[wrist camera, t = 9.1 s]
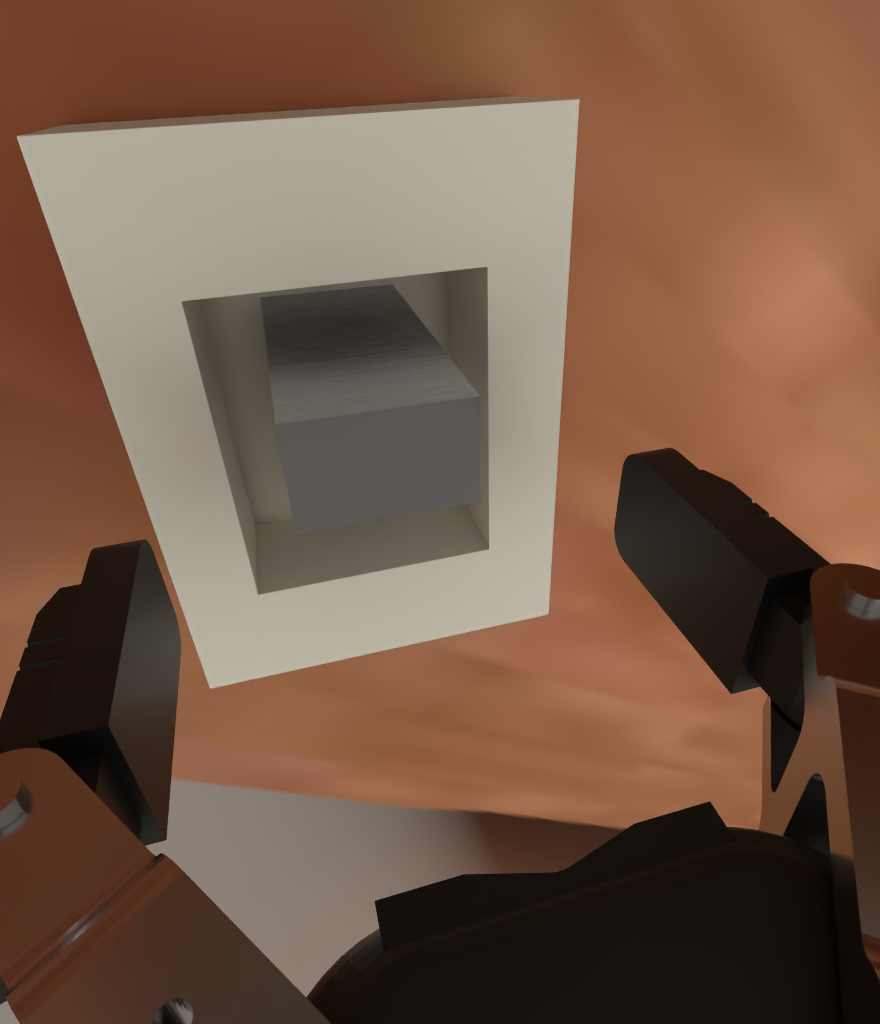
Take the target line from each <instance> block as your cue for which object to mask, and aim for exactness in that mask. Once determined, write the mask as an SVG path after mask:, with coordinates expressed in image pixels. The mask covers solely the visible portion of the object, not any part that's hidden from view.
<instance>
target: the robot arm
mask: <svg viewBox="0 0 880 1024" xmlns="http://www.w3.org/2000/svg"><path fill="white" fill-rule="evenodd" d="M614 533H615V540H616V545H617V548H618V551H619V553H620V555H621V557H622V559H623V560H624V562H625V563H626V564H627V565H628V567H629V568H630V569H631V570H632V572H633V573H634V574H635V575H636V577H637V578H638V579H639V580H640V582H641V583H642V584H643V585H644V586H645V588H646V589H647V590H648V591H649V593H650V594H651V595H652V596H653V598H654V599H655V600H656V601H657V603H658V604H659V605H660V606H661V608H662V609H663V610H664V611H665V613H666V614H667V615H668V616H669V617H670V619H671V620H672V621H673V622H674V624H675V625H676V626H677V627H678V629H679V630H680V631H681V632H682V634H683V635H684V636H685V637H686V639H687V640H688V641H689V642H690V643H691V645H692V646H693V647H694V648H695V650H696V651H697V652H698V653H699V655H700V656H701V657H702V658H703V660H704V661H705V662H706V663H707V665H708V666H709V667H710V668H711V670H712V671H713V672H714V673H715V674H716V676H717V677H718V678H719V679H720V681H721V682H722V683H723V684H724V686H725V687H726V688H727V689H728V691H729V692H730V693H731V694H733V693H737V692H741V691H745V690H749V689H752V688H756V687H760V686H761V688H762V689H763V690H764V691H765V692H766V693H767V695H768V696H767V699H766V701H765V704H764V707H763V754H762V811H761V820H760V825H759V830H755V829H746V828H737V827H726V825H725V824H724V822H723V820H722V819H721V817H720V816H719V814H718V813H717V811H716V810H715V808H714V807H713V805H712V804H711V802H706V803H703V804H700V805H696V806H693V807H689V808H686V809H683V810H679V811H676V812H673V813H669V814H666V815H663V816H659V817H656V818H652V819H649V820H646V821H642V822H639V823H636V824H633V825H632V826H630V827H629V828H627V829H626V830H624V831H623V832H621V833H620V834H618V835H617V836H615V837H614V838H612V839H611V840H609V841H608V842H606V843H605V844H603V845H602V846H600V847H599V848H597V849H596V850H594V851H593V852H591V853H590V854H588V855H587V856H585V857H584V858H582V859H581V860H579V861H578V862H576V863H575V864H573V865H572V866H570V867H568V868H567V869H565V870H562V871H559V872H553V873H513V874H466V875H465V874H464V875H460V876H457V877H454V878H450V879H447V880H444V881H440V882H437V883H433V884H430V885H427V886H424V887H420V888H417V889H413V890H410V891H407V892H403V893H400V894H396V895H393V896H390V897H386V898H383V899H380V900H377V901H375V905H376V911H377V917H378V922H379V929H378V930H376V931H375V932H373V933H372V934H370V935H368V936H367V937H365V938H364V939H362V940H361V941H360V942H358V943H357V944H356V945H355V946H353V947H352V948H351V949H350V950H349V951H347V952H346V953H345V954H344V955H343V956H341V957H340V959H339V960H338V961H337V962H336V963H335V964H334V965H333V966H332V967H331V968H330V969H329V970H328V971H327V972H326V973H325V974H324V975H323V976H322V978H321V979H320V980H319V982H318V983H317V984H316V985H315V987H314V988H313V989H312V991H311V992H310V993H309V995H308V996H307V997H305V996H304V995H303V994H302V993H301V992H300V991H299V990H298V989H297V988H296V987H295V986H294V985H293V984H292V983H291V982H290V981H289V980H288V979H287V978H286V977H285V975H284V974H283V973H282V972H281V971H280V970H279V969H278V968H277V967H276V966H275V965H274V964H273V963H272V962H271V961H270V960H269V959H268V958H267V957H266V956H265V955H264V954H263V953H262V952H261V951H260V950H259V949H258V948H257V947H256V946H255V945H254V944H253V942H251V941H250V940H249V939H248V937H247V936H246V935H245V934H244V933H243V932H242V931H241V930H240V929H239V928H238V927H237V926H236V925H235V924H234V923H233V922H232V921H231V920H230V919H229V918H228V917H227V916H226V915H225V914H224V913H223V912H222V911H221V909H220V908H218V906H217V905H216V904H215V903H214V902H213V901H212V900H211V899H210V898H209V897H208V896H207V895H206V894H205V893H204V892H203V891H202V890H201V889H200V888H199V887H198V886H197V885H196V884H195V883H194V882H193V881H192V880H191V879H190V878H189V877H188V876H187V875H186V873H185V872H184V871H183V870H182V869H181V868H179V866H178V865H177V864H175V863H174V862H173V861H172V860H171V859H170V858H168V857H167V856H166V855H164V854H162V853H161V854H159V855H158V856H157V857H156V856H155V855H154V854H152V853H151V852H150V851H149V850H148V849H147V848H146V847H145V845H149V844H153V843H157V842H161V841H164V840H166V838H167V825H168V811H169V799H170V785H171V773H172V760H173V747H174V734H175V721H176V708H177V696H178V683H179V670H180V657H181V640H180V632H179V626H178V622H177V618H176V614H175V611H174V608H173V605H172V603H171V600H170V597H169V594H168V592H167V589H166V586H165V583H164V581H163V578H162V575H161V572H160V569H159V567H158V564H157V561H156V558H155V556H154V553H153V550H152V548H151V546H150V544H149V543H148V541H147V540H145V539H144V540H138V541H132V542H127V543H121V544H115V545H110V546H104V547H99V548H94V549H92V550H91V552H90V555H89V558H88V562H87V565H86V569H85V573H84V576H83V580H82V583H81V584H80V585H74V586H69V587H63V588H60V589H59V590H58V591H57V592H56V593H55V594H54V596H53V597H52V598H51V599H50V600H49V601H48V602H47V603H46V605H45V606H44V607H43V608H42V609H41V610H40V611H39V612H38V614H37V615H36V618H35V621H34V624H33V626H32V629H31V632H30V635H29V638H28V641H27V643H28V647H26V648H25V650H24V652H23V655H22V658H21V661H20V664H19V666H20V671H17V673H16V676H15V678H14V681H13V684H12V687H11V690H10V693H9V696H8V699H7V701H6V704H5V707H4V710H3V713H2V716H1V719H0V1004H2V1003H3V1002H5V1001H8V1003H9V1005H10V1007H11V1009H12V1011H13V1013H14V1014H15V1016H16V1018H17V1019H18V1021H19V1023H20V1024H880V570H878V569H875V568H871V567H867V566H863V565H858V564H849V563H838V564H830V563H829V562H828V561H826V560H825V559H824V558H823V557H821V556H820V555H819V554H818V553H817V552H815V551H814V550H813V549H812V548H810V547H809V546H808V545H807V544H806V543H804V542H803V541H802V540H801V539H799V538H798V537H797V536H796V535H795V534H793V533H792V532H791V531H790V530H789V529H787V528H786V527H785V526H784V525H782V524H781V523H780V522H779V521H778V520H776V519H775V518H774V517H769V513H768V512H767V511H765V510H764V509H763V508H762V507H761V506H759V505H758V504H757V503H752V499H751V498H750V497H748V496H747V495H746V494H745V493H743V492H742V491H741V490H740V489H739V488H737V487H736V486H735V485H734V484H732V483H731V482H729V481H727V480H725V479H722V478H720V477H718V476H716V475H714V474H711V473H709V472H707V471H705V470H699V469H698V468H697V467H696V466H694V465H693V464H692V463H691V462H690V461H688V460H687V459H686V458H685V457H684V456H683V455H681V454H680V453H679V452H678V451H676V450H675V449H673V448H665V449H659V450H654V451H648V452H642V453H637V454H632V455H629V456H628V457H627V458H626V459H625V461H624V464H623V469H622V476H621V483H620V490H619V498H618V505H617V512H616V519H615V528H614Z"/></svg>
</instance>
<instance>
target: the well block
mask: <svg viewBox="0 0 880 1024" xmlns="http://www.w3.org/2000/svg"><path fill="white" fill-rule="evenodd" d="M578 114H579V99H563V98H540V97H517V96H510V97H494V98H479V99H463V100H447V101H432V102H416V103H400V104H385V105H369V106H353V107H337V108H322V109H306V110H290V111H275V112H259V113H243V114H228V115H212V116H196V117H181V118H165V119H149V120H134V121H118V122H102V123H87V124H71V125H62V126H58V127H54V128H49V129H45V130H41V131H37V132H33V133H28V134H24V135H20V136H17V139H18V142H19V145H20V148H21V151H22V153H23V156H24V159H25V162H26V165H27V168H28V171H29V173H30V176H31V179H32V182H33V185H34V188H35V191H36V193H37V196H38V199H39V202H40V205H41V208H42V210H43V213H44V216H45V219H46V222H47V225H48V228H49V230H50V233H51V236H52V239H53V242H54V245H55V248H56V250H57V253H58V256H59V259H60V262H61V265H62V268H63V270H64V273H65V276H66V279H67V282H68V285H69V287H70V290H71V293H72V296H73V299H74V302H75V305H76V307H77V310H78V313H79V316H80V319H81V322H82V325H83V327H84V330H85V333H86V336H87V339H88V342H89V344H90V347H91V350H92V353H93V356H94V359H95V362H96V364H97V367H98V370H99V373H100V376H101V379H102V382H103V384H104V387H105V390H106V393H107V396H108V399H109V401H110V404H111V407H112V410H113V413H114V416H115V419H116V421H117V424H118V427H119V430H120V433H121V436H122V439H123V441H124V444H125V447H126V450H127V453H128V456H129V459H130V461H131V464H132V467H133V470H134V473H135V476H136V478H137V481H138V484H139V487H140V490H141V493H142V496H143V498H144V501H145V504H146V507H147V510H148V513H149V516H150V518H151V521H152V524H153V527H154V530H155V533H156V535H157V538H158V541H159V544H160V547H161V550H162V553H163V555H164V558H165V561H166V564H167V567H168V570H169V573H170V575H171V578H172V581H173V584H174V587H175V590H176V593H177V595H178V598H179V601H180V604H181V607H182V610H183V612H184V615H185V618H186V621H187V624H188V627H189V630H190V632H191V635H192V638H193V641H194V644H195V647H196V650H197V652H198V655H199V658H200V661H201V664H202V667H203V669H204V672H205V675H206V678H207V681H208V684H209V687H210V689H211V688H216V687H220V686H225V685H229V684H234V683H238V682H243V681H247V680H252V679H257V678H261V677H266V676H270V675H275V674H279V673H284V672H288V671H293V670H297V669H302V668H307V667H311V666H316V665H320V664H325V663H329V662H334V661H338V660H343V659H347V658H352V657H357V656H361V655H366V654H370V653H375V652H379V651H384V650H388V649H393V648H398V647H402V646H407V645H411V644H416V643H420V642H425V641H429V640H434V639H438V638H443V637H448V636H452V635H457V634H461V633H466V632H470V631H475V630H479V629H484V628H488V627H493V626H498V625H502V624H507V623H511V622H516V621H520V620H525V619H529V618H534V617H538V616H543V615H548V611H549V595H550V578H551V562H552V545H553V529H554V512H555V495H556V479H557V462H558V446H559V429H560V412H561V396H562V379H563V363H564V346H565V330H566V313H567V296H568V280H569V263H570V247H571V230H572V213H573V197H574V180H575V164H576V147H577V131H578ZM389 284H393V285H394V287H395V288H396V289H397V291H398V292H399V293H400V294H401V296H402V297H403V298H404V300H405V301H406V302H407V303H408V305H409V306H410V307H411V308H412V310H413V311H414V312H415V314H416V315H417V316H418V317H419V319H420V320H421V321H422V322H423V324H424V325H425V326H426V328H427V329H428V330H429V331H430V333H431V334H432V335H433V336H434V338H435V339H436V340H437V342H438V343H439V344H440V345H441V347H442V348H443V349H444V350H445V352H446V353H447V354H448V356H449V357H450V358H451V359H452V361H453V362H454V363H455V364H456V366H457V367H458V368H459V370H460V371H461V372H462V373H463V375H464V376H465V377H466V379H467V380H468V381H469V382H470V384H471V385H472V386H473V387H474V389H475V390H476V391H477V393H478V394H479V395H480V503H474V504H468V505H462V506H456V507H450V508H444V509H439V510H433V511H427V512H421V513H415V514H409V515H403V516H397V517H392V518H386V519H380V520H374V521H368V522H362V523H356V524H350V525H345V526H339V527H333V528H327V529H321V530H315V531H309V532H303V533H298V534H296V532H295V527H294V521H293V516H292V511H291V505H290V500H289V495H288V489H287V484H286V479H285V473H284V468H283V463H282V457H281V452H280V447H279V441H278V436H277V431H276V425H275V418H274V409H273V400H272V392H271V383H270V375H269V366H268V358H267V349H266V341H265V332H264V324H263V315H262V307H261V298H260V297H270V296H280V295H290V294H300V293H310V292H320V291H330V290H340V289H350V288H360V287H369V286H379V285H389Z"/></svg>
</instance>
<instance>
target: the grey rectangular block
mask: <svg viewBox="0 0 880 1024" xmlns="http://www.w3.org/2000/svg"><path fill="white" fill-rule="evenodd" d="M260 298H261V307H262V315H263V324H264V332H265V341H266V349H267V358H268V366H269V375H270V383H271V392H272V400H273V409H274V418H275V425H276V431H277V436H278V441H279V447H280V452H281V457H282V463H283V468H284V473H285V479H286V484H287V489H288V495H289V500H290V505H291V511H292V516H293V521H294V527H295V532H296V534H298V533H303V532H309V531H315V530H321V529H327V528H333V527H339V526H345V525H350V524H356V523H362V522H368V521H374V520H380V519H386V518H392V517H397V516H403V515H409V514H415V513H421V512H427V511H433V510H439V509H444V508H450V507H456V506H462V505H468V504H474V503H480V395H479V394H478V393H477V391H476V390H475V389H474V387H473V386H472V385H471V384H470V382H469V381H468V380H467V379H466V377H465V376H464V375H463V373H462V372H461V371H460V370H459V368H458V367H457V366H456V364H455V363H454V362H453V361H452V359H451V358H450V357H449V356H448V354H447V353H446V352H445V350H444V349H443V348H442V347H441V345H440V344H439V343H438V342H437V340H436V339H435V338H434V336H433V335H432V334H431V333H430V331H429V330H428V329H427V328H426V326H425V325H424V324H423V322H422V321H421V320H420V319H419V317H418V316H417V315H416V314H415V312H414V311H413V310H412V308H411V307H410V306H409V305H408V303H407V302H406V301H405V300H404V298H403V297H402V296H401V294H400V293H399V292H398V291H397V289H396V288H395V287H394V285H393V284H389V285H379V286H369V287H360V288H350V289H340V290H330V291H320V292H310V293H300V294H290V295H280V296H270V297H260Z"/></svg>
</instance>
